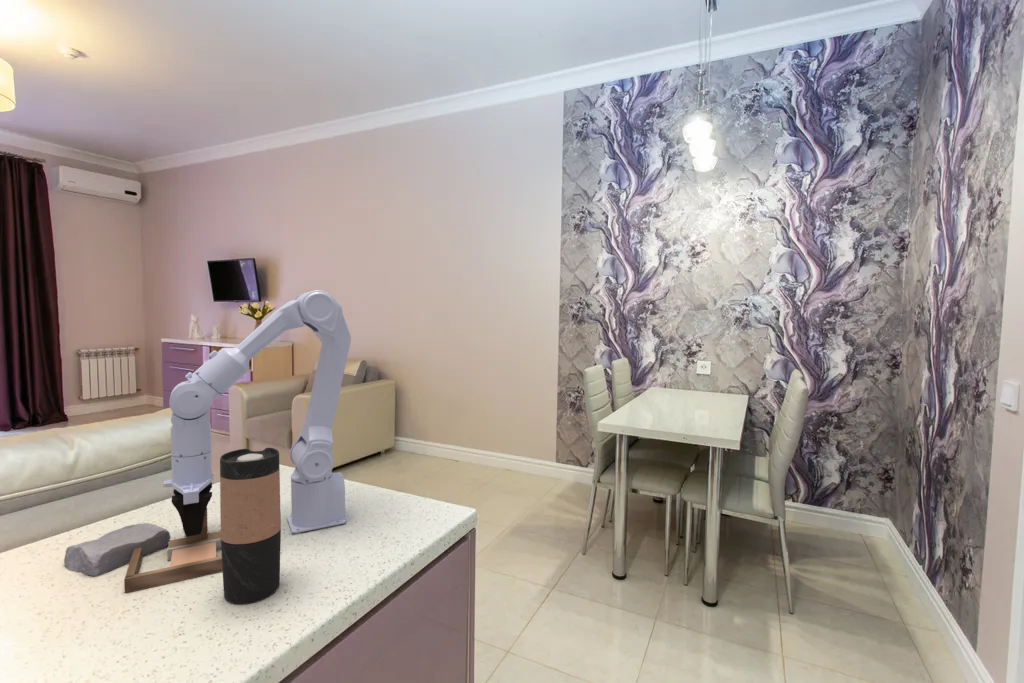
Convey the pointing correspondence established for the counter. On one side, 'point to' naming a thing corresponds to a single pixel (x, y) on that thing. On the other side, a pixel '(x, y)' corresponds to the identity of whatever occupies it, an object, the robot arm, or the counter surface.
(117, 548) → the stone block
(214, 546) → the terracotta tile
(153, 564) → the counter surface
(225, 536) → the travel mug
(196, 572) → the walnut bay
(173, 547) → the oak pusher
